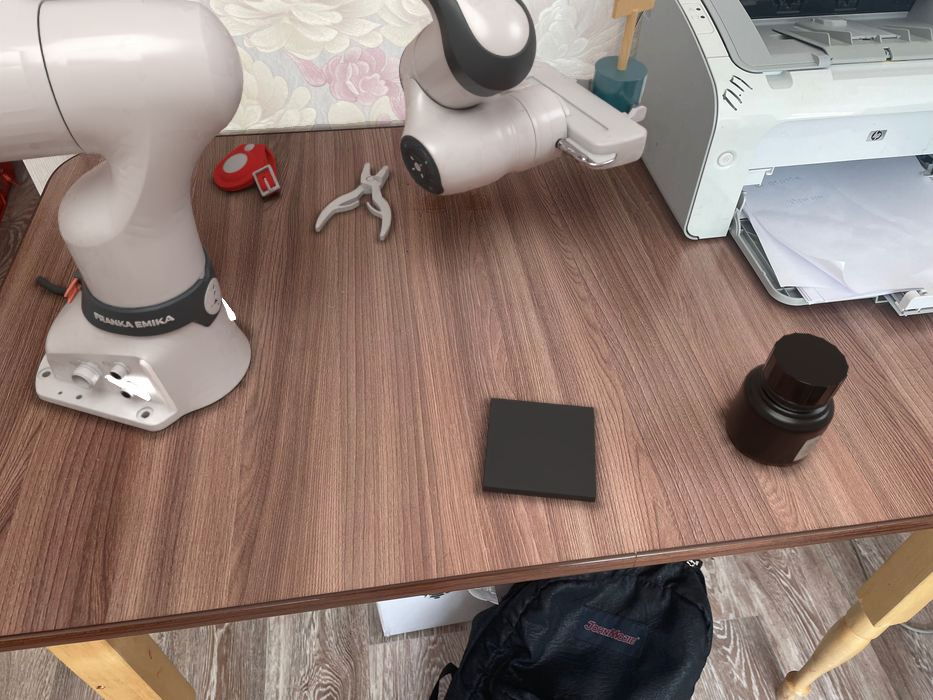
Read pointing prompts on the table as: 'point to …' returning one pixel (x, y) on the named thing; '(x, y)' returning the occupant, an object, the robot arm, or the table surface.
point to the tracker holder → (248, 169)
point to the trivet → (541, 450)
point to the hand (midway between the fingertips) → (620, 96)
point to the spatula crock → (622, 63)
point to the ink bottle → (787, 400)
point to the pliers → (367, 187)
